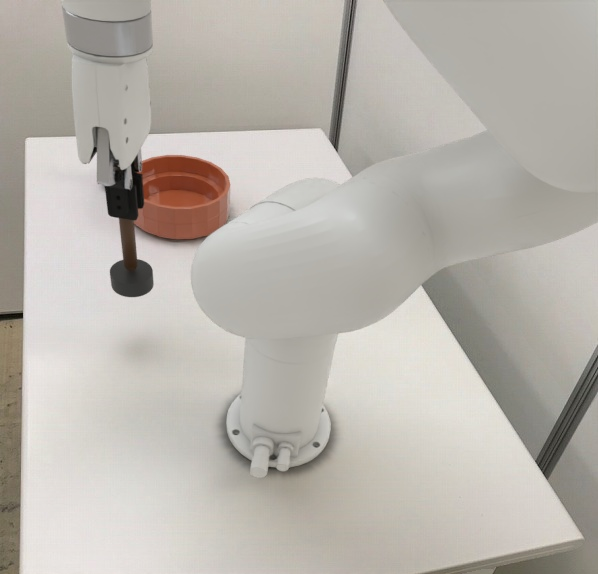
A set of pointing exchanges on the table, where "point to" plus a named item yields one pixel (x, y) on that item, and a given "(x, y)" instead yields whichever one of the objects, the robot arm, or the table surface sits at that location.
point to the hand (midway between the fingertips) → (126, 210)
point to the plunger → (130, 265)
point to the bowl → (183, 197)
